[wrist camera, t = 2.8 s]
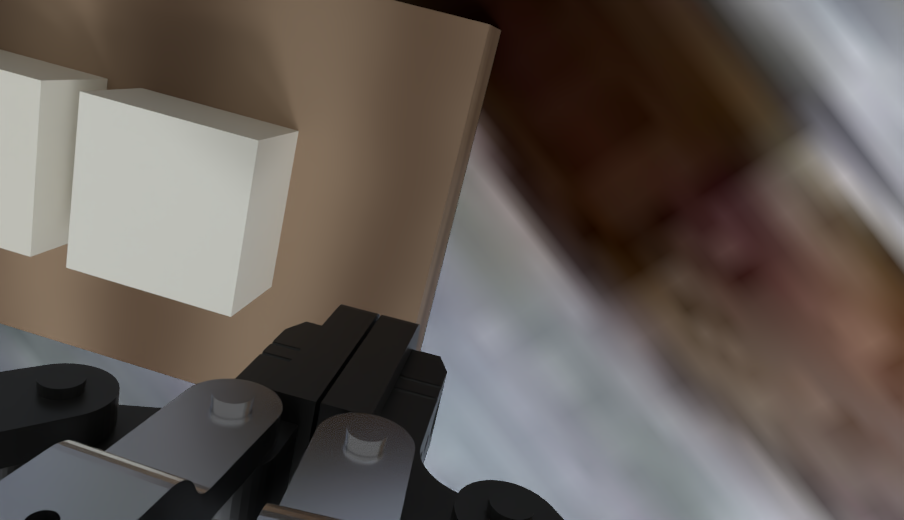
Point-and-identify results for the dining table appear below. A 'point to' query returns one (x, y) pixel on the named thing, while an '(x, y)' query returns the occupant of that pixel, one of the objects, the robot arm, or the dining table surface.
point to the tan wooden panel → (314, 167)
